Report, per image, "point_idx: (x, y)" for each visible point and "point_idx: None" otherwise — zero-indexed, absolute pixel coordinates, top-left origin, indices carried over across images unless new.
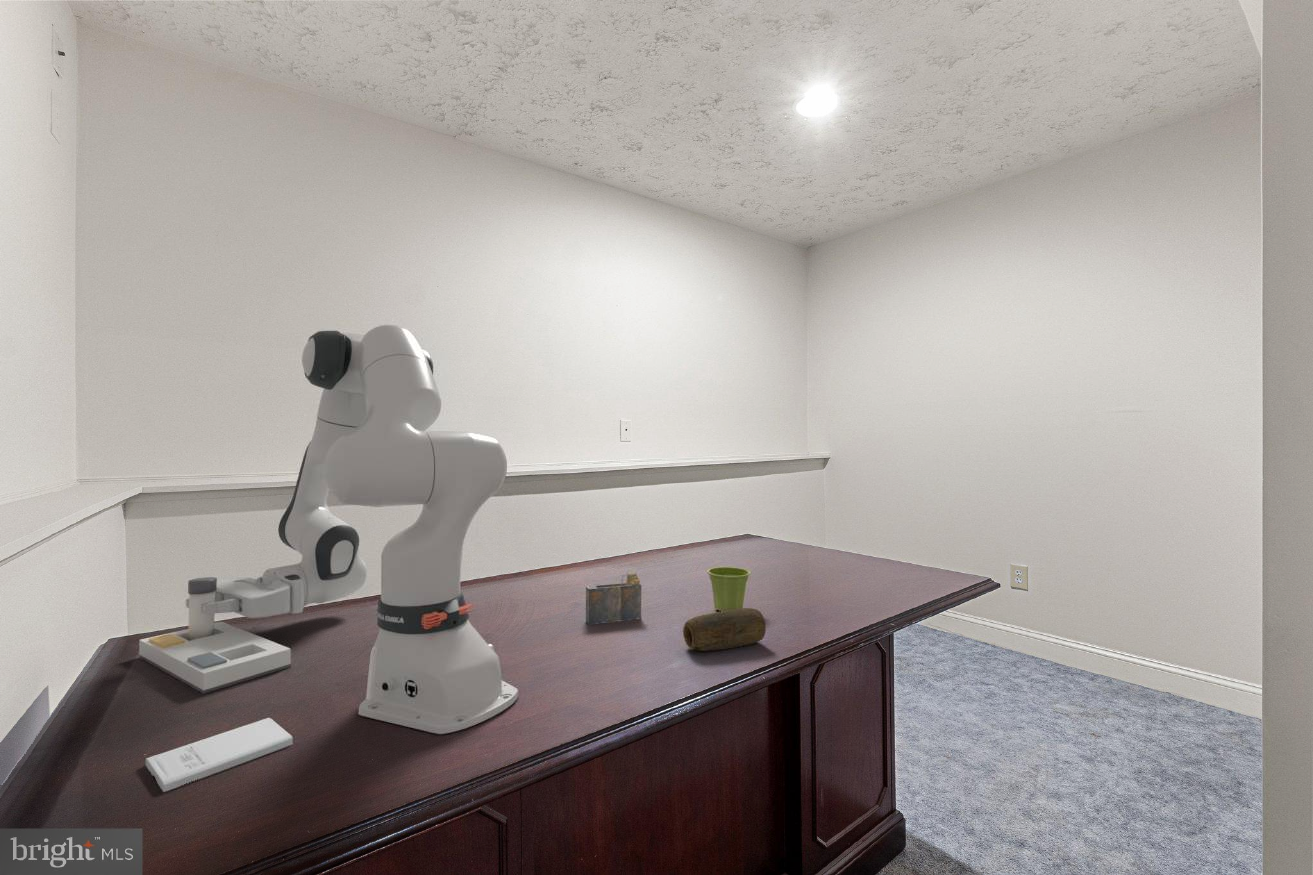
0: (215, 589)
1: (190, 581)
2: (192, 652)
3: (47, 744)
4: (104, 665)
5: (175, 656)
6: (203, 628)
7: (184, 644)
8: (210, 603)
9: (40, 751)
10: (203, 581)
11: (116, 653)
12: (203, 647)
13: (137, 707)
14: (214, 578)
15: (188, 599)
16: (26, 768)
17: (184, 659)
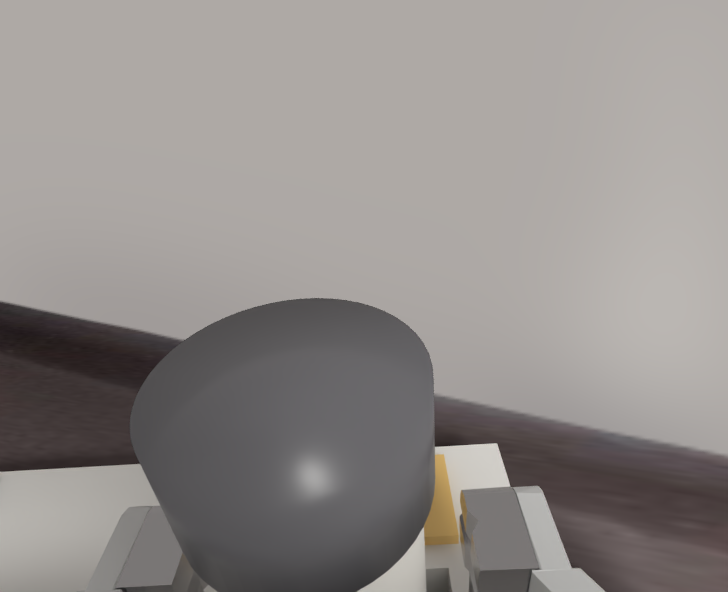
0: (190, 561)
1: (313, 306)
2: (64, 529)
3: (55, 317)
4: (478, 417)
5: (102, 474)
6: None
7: None
8: (126, 544)
9: (41, 312)
10: (190, 364)
11: (623, 460)
12: (67, 586)
13: (18, 411)
14: (232, 478)
15: (498, 488)
16: (6, 302)
17: (22, 483)
